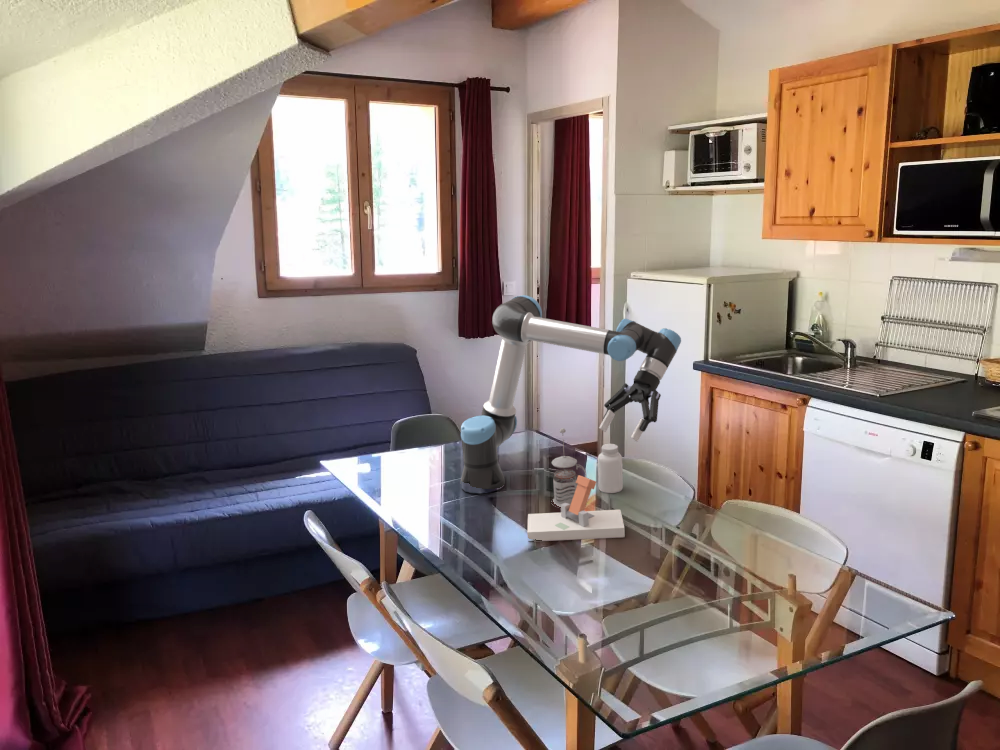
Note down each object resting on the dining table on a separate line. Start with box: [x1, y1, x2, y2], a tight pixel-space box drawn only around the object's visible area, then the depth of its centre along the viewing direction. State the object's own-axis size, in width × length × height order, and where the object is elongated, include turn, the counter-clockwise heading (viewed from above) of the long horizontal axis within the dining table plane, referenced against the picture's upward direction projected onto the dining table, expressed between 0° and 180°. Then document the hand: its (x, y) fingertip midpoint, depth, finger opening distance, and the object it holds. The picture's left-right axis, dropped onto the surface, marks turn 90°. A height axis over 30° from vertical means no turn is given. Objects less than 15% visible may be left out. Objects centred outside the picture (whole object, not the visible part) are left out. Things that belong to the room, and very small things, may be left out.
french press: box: [551, 427, 588, 508], centre depth 254 cm, size 10×12×25 cm
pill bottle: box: [597, 443, 624, 494], centre depth 262 cm, size 8×8×15 cm
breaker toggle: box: [566, 474, 597, 522], centre depth 237 cm, size 3×5×13 cm, turn 38°
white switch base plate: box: [527, 502, 626, 542], centre depth 237 cm, size 28×12×7 cm, turn 87°
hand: (617, 434), depth 243 cm, fingers open, 13 cm apart
